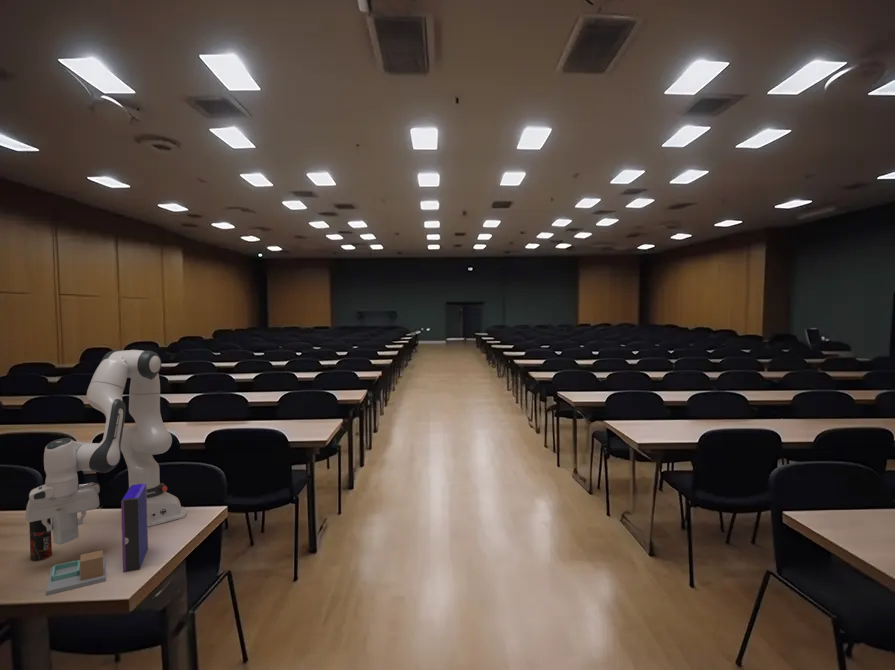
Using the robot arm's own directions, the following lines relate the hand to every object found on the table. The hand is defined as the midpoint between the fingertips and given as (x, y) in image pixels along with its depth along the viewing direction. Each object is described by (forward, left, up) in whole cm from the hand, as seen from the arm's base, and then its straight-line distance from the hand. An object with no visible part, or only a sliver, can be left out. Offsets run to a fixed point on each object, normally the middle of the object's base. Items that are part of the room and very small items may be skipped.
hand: (65, 527), depth 178 cm
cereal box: (-20, +10, -13) cm, 26 cm away
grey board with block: (-3, +13, -13) cm, 18 cm away
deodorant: (+8, -11, -13) cm, 19 cm away
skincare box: (0, 0, -5) cm, 5 cm away
